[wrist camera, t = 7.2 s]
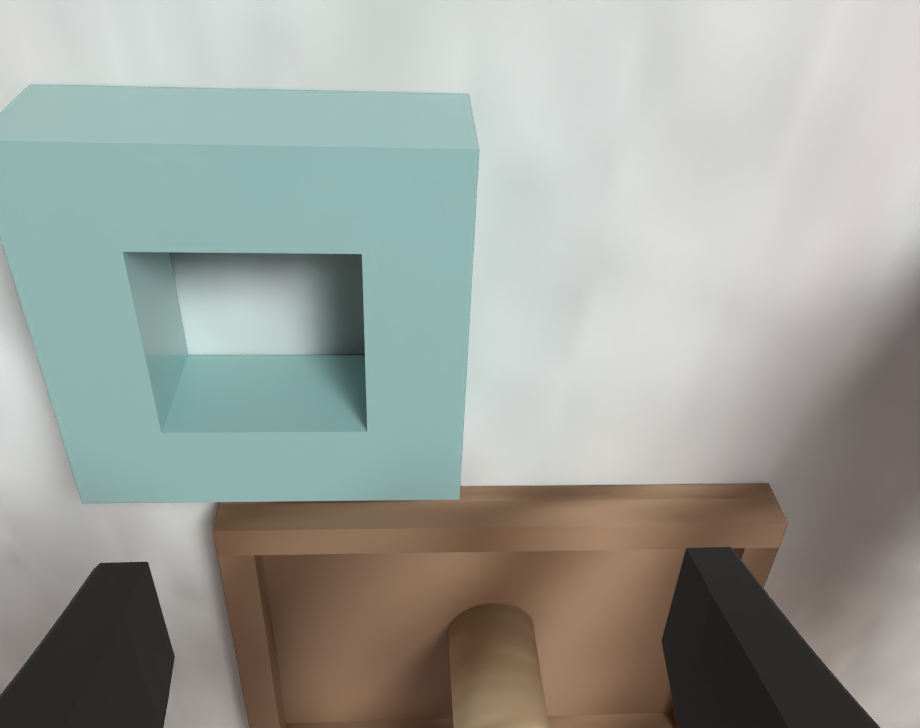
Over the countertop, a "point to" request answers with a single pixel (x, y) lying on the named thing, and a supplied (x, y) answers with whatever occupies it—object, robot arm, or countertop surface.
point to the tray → (471, 595)
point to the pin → (495, 669)
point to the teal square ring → (243, 231)
